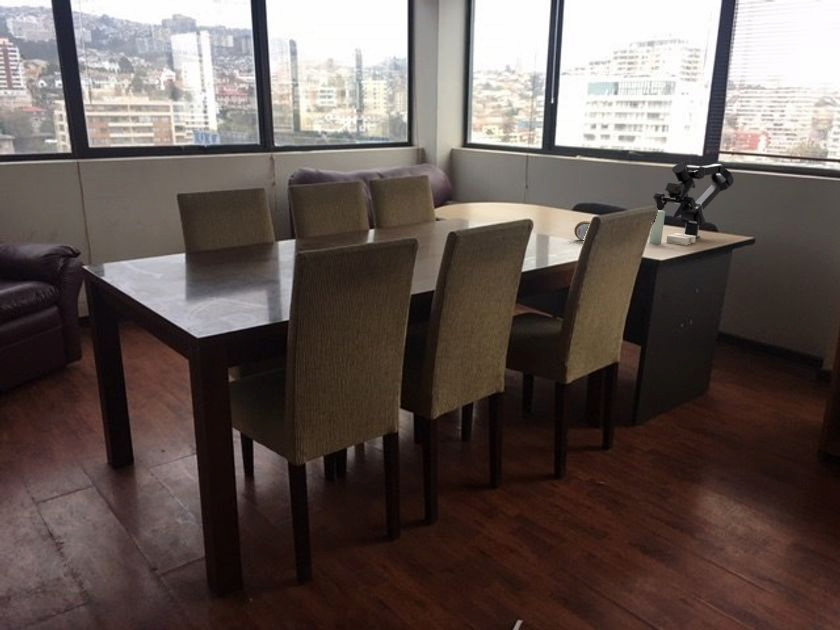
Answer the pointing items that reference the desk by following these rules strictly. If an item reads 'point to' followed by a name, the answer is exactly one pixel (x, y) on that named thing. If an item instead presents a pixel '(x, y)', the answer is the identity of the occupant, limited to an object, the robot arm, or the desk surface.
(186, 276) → the desk surface
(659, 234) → the post
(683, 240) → the plinth
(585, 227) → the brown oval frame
